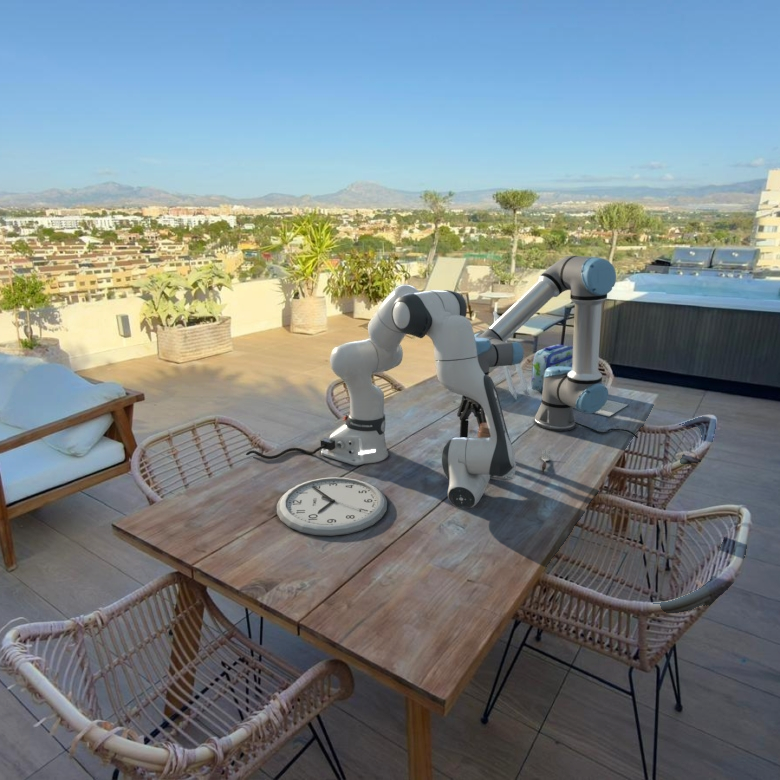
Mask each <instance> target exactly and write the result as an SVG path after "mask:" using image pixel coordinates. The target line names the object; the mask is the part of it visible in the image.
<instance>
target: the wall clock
mask: <svg viewBox="0 0 780 780" xmlns="http://www.w3.org/2000/svg"><path fill="white" fill-rule="evenodd" d="M387 509H388V500H387V498H386V496H385V494H384V493H383V492H382V491H381V490H380V489H379V488H377V487H376V486H374V485H372V484H371V483H369V482H365V481H362V480H359V479H355V478H349V477H338V476H337V477H335V476H333V477H332V476H331V477H322V478H317V479H312V480H307V481H305V482H302V483H299V484H297V485H295V486H293V487H292V488H290V489H288V490H287V491H286V492H285V493H284V494H283V495H281V496H280V498H279V499H278V502H277V503H276V515H277V517H278V518H279V520H280V521H281V522H282V523H283V524H285V525H286V526H287V527H288V528H290V529H293V530H295V531H297V532H299V533H303V534H308V535H312V536H327V537H328V536H329V537H331V536H332V537H333V536H342V535H350V534H352V533H356V532H361V531H363V530H366V529H368V528H369V527H372V526H373V525H375V524H376V523H378V522H379V521H380V520H381V519H382V518H383V517H384V516H385V514H386V512H387Z"/></svg>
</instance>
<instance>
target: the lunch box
mask: <svg viewBox="0 0 780 780" xmlns="http://www.w3.org/2000/svg"><path fill="white" fill-rule="evenodd" d="M572 361H573V346H569V345H565V344H554V345H550V346H547V347H544V348H542V349H541V348H540V349H539V350H537V351H536V352H535V353H534V356H533V360H532V367H531V368H532V369H531V382H530V383H531V386H530V387H531V389H532V390H533V391H537V392H542V391H543V381H544V374H545V370H546V369H547V368H549V367H556V366H565V367H572Z"/></svg>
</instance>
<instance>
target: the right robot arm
mask: <svg viewBox="0 0 780 780" xmlns="http://www.w3.org/2000/svg"><path fill="white" fill-rule="evenodd" d="M616 282H617V272H616V268H615V267H614V265H613V264H612V263H611V262H610V261H609V260H608V259H605V258H601V257H598V256H582V255H569V256H565V257H563V258H561V259H560V260H558V261H556V262H555V263H553V264H552V265H551V266H549V267H548V268H547V269H546V270H545V271H543V272H542V273H541V274H540V275H539V276H538V277H537V282H536V283H535V284H534V285H532V286H531V288H529V290H527V291H526V292H525V293H524V294H523V295H522V296H521V297H520V298H519V299H518V300H517V301H516V302H515V303H514V304H512V306H510V307H509V308H508V309H507V310H506V311H505V312H504V313H503V314H502V315H501V316H499V319H498V320H497V321H494V323H492V324H491V325H490V326H489V327H488V328H487V329H486V330H485V331H484V332H477V333H474V336H475V341H476V347H477V355H478V362H479V365H480V367H481V369H482V371H483V372H484V374H485V375H487V376H489V377H490V373H489V367H495V366H499V367H502V366H507V365H508V366H511V367H512V366H513V365H514V366H515V364H519V363H520V364H521V363H522V361H523V359H524V355H525V352H524V347H523V345H522V344H521V343H520V342H519V341H509V342H508V340H509V338H511V337H512V336H513V335H514V334H515V333H516V332H517V331H518V330H520V329H521V327H523V326H524V325H525V324H526V323H527V322H528V321H529V320H530V319H531V318H533V316H535V314H537V312H539V311H540V309H542V308H543V307H544V306H545V305H546V304H547V303H548V302H549V301H550V300H551V299H552V298H557V297H559V296H560V295H561V294H562V293H564V292H566V291H570V295H569V296H570V297H569V299H570V300H571V302H572V303H574V314H573V315H574V317H573V321H574V322H573V335H572V336H573V339H572V342H573V343H572V347H573V361H572V367H565V366H556V367H549V368H547V369H546V370H545V374H544V381H543V391H541V393H542V394H541V402H540V405H539V407H538V410H537V411H536V413H535V416H534V424H535V425H536V426H537V427H539V428H542V429H544V430H549V431H556V432H567V431H572V430H574V429H575V428H576V425H577V426H580V427H583V428H585V429H587V430H591V431H593V432H595V433H597V434H607V433H609V432H611V431H618V432H625V433H629V434H631V435H632V436H634V438H636V439H639V437H638V435H637V434H636V433H634V432H633V431H632V430H629V429H626V428H609V429H607V430H605V431H600V430H597V429H595V428H593V427H591V426H587V425H586V424H582V423H580V422H577V421H576V418H575V417H576V416H575V413H574V409H575V410H577V412H580V413H584V414H588V415H590V414H596V413H595V412H597V411H599V410H600V409H601V408H602V407H603V406H604V405H605V403H606V401H607V400H609V389H608V387H607V386H606V385H605V384H604V383H603V374H602V373H601V372H600V371H599V358H600V357H599V355H600V342H601V341H600V339H601V323H602V307H603V306H602V305H603V302H605V301H606V300H607V298H608V294H609V293H610V292H611V291H612V290H613V288H614V287H615V285H616ZM506 340H507V342H505V341H506ZM461 396H462V397H461V402H460V405H459V408H458V411H457V415H456V416H457V418H459V420H460V423H459V425H460V427H459V437H469V417H470V415H471V414H472V413H473V415H474V417H475V418H476V422H477V425H478V429H480V424H481V423H487V421H486V417H485V413H484V410H483V408H482V406H481V405H480V404H479V403H478V402H476V401H475V400H473V399H471V398H469V397H466V396H463V395H461Z"/></svg>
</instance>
